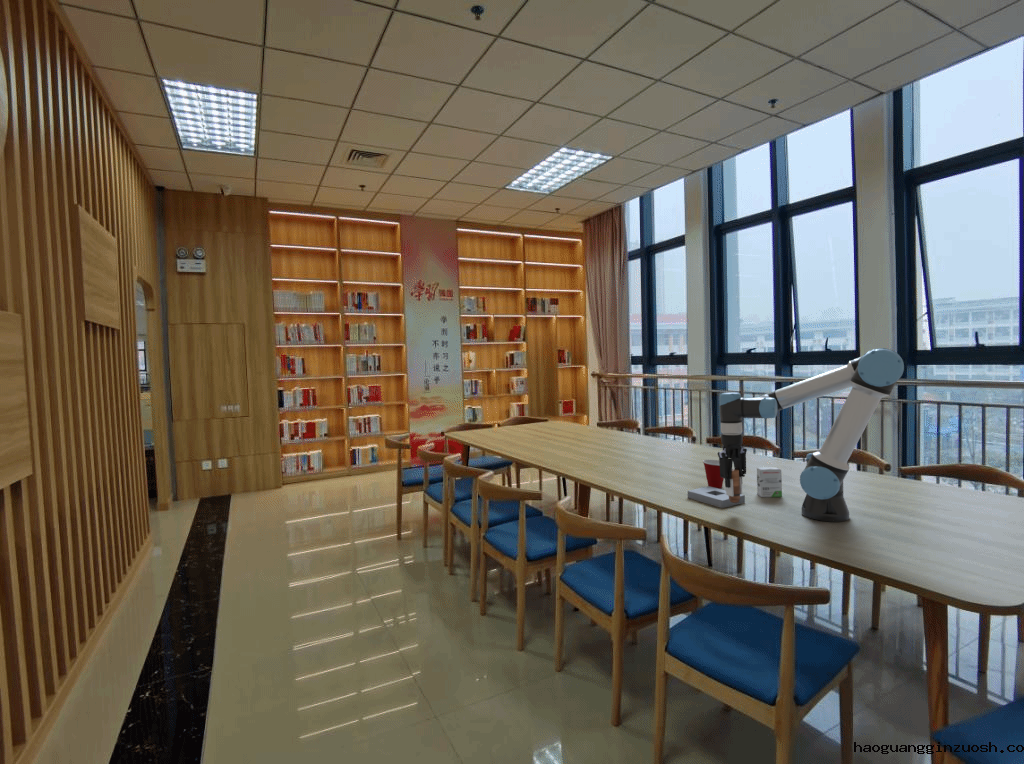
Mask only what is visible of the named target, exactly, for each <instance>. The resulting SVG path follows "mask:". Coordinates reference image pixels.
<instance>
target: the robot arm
mask: <svg viewBox="0 0 1024 764" xmlns="http://www.w3.org/2000/svg"><path fill="white" fill-rule="evenodd" d="M904 364H905V363H904V359H902V357H901V356H900V354H899V353H897V352H896V351H895V350H892V349H889V348H885V347H883V348H882V347H879V348H873V349H870V350H868V351H866V353H865V352H864V354H863V355H861V356H859V357H857V358H854V359H852V360H849V361H848V362H847V364H846V365H844V366H840V367H838V368H835V369H833V370H829V371H826V372H824V373H820V374H818V375H816V376H813V377H809V378H807V379H804V380H801V381H798V382H796V383H792V384H790V385H787V386H784V387H781V388H779V389H776V390H774V391H771V392H770V391H769V392H767V393H763V394H761V395H759V396H757V397H742V396H741V395H742V394H741V393H740V392H734V391H733V392H732V391H731V392H722V393H720V394H719V405H718V407H719V419H720V420H719V421H720V433H721V434H720V442H721V444H722V445H723V448H722V450H721V451H718V452H717V456H718V457H717V458H718V460H719V465H720V477H722V478H724V485H725V490H726V495H728V496H732V497H733V496H734V492H733V479H731V475H732V469H737V470H739V483H740V494H741V495H743V478H744V477H745V476H746V475H747V451H748V449H747V448H745V447H742V444H743V442H744V441H743V440H744V439H743V434H742V433H743V422H742V419H765V420H767V419H775V418H776V417H777V416H778V411H782V410H784V409H787V408H790V407H794V406H797V405H800V404H803V403H805V402H809V401H812V400H815V399H818V398H821V397H824V396H826V395H830V394H834V393H836V392H840V391H842V390H845V389H848V388H851V389H850V391H849V394H848V396H847V397H846V398H845V401H844V403H843V405H842V407H841V409H840V411H839V413H838V414H837V417H836V419H835V420H834V422H833V424H832V427H831V428H830V430H829V432H828V434H827V435H826V438H825V440H824V442H823V444H822V445H821V447H820V449H819V450H816V451H814V452H810V453H807V454H806V457H805V461H806V465H805V468H804V469H803V470H802V471H801V473H800V475H799V482H800V483H799V484H800V487H801V489H802V490H803V492H804V493H806V494H805V497H804V499H803V502H802V505H801V514H802V515H803V516H804V517H806V518H809V519H812V520H815V521H822V522H831V523H832V522H833V523H834V522H835V523H837V522H838V523H839V522H845V521H848V520H849V519H850V511H849V508H848V504H847V502H846V499H845V496H844V481H845V480H844V479H845V478H846V476H847V473H848V472H849V470H850V467H849V464H848V462H849V461H848V460H849V459H850V457H851V456H852V453H853V452H854V450H855V448H856V446H857V444H858V443H859V441H860V439H861V437H862V435H863V433H864V431H865V429H866V427H867V426H868V424H869V422H870V420H871V418H872V416H873V414H874V413H875V412H876V410H877V407H878V406H879V403H880V402H881V400H882V399H883V398H886V397H889V396H890V394H891V393H892V391H893V390H894V388H895V386H896V384H897V382H898V381H899V379H901V377H902V376H903V373H904V371H905V365H904ZM733 467H734V468H733Z"/></svg>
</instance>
